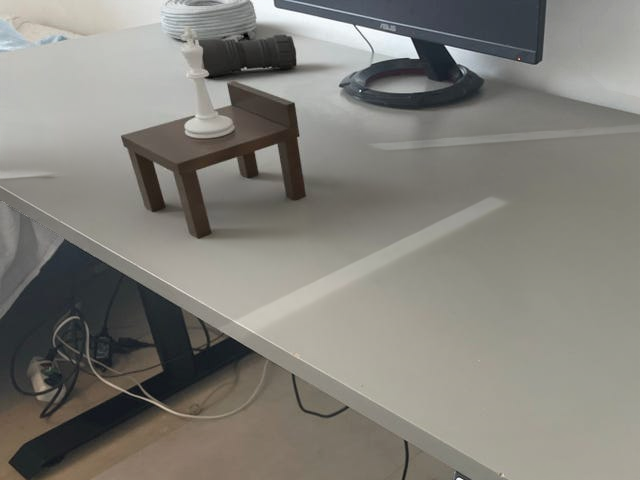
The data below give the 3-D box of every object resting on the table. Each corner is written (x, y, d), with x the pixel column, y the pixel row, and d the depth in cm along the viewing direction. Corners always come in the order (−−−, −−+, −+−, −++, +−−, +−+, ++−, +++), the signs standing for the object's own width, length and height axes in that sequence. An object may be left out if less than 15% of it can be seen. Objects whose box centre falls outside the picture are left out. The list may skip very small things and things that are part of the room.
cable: (257, 42, 133) (251, 7, 129) (158, 47, 130) (148, 11, 126) (259, 21, 146) (254, -12, 142) (170, 25, 143) (162, -9, 139)
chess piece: (244, 125, 75) (224, 23, 69) (215, 141, 72) (191, 34, 66) (205, 119, 77) (182, 18, 71) (174, 135, 73) (147, 30, 67)
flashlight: (294, 63, 122) (290, 29, 119) (300, 71, 118) (296, 36, 115) (201, 71, 118) (193, 36, 114) (204, 81, 114) (196, 44, 110)
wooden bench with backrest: (197, 240, 72) (170, 138, 66) (142, 207, 78) (112, 111, 71) (308, 196, 80) (294, 102, 74) (251, 169, 86) (234, 80, 80)
